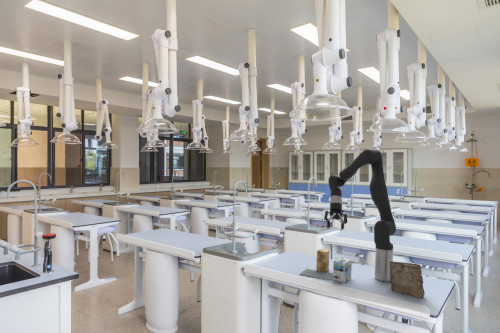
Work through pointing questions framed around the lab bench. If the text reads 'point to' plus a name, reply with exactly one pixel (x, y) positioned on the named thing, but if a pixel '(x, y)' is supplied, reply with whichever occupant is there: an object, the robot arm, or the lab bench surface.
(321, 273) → the mat
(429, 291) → the lab bench surface
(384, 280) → the robot arm
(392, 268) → the mineral sample
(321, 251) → the oak block
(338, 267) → the light bulb box
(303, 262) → the lab bench surface
